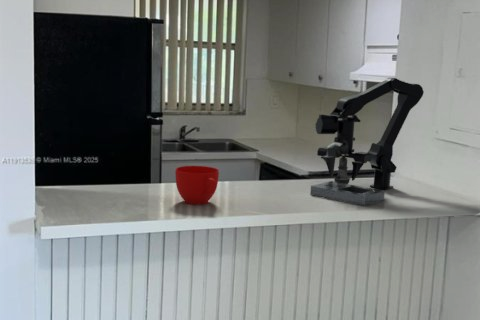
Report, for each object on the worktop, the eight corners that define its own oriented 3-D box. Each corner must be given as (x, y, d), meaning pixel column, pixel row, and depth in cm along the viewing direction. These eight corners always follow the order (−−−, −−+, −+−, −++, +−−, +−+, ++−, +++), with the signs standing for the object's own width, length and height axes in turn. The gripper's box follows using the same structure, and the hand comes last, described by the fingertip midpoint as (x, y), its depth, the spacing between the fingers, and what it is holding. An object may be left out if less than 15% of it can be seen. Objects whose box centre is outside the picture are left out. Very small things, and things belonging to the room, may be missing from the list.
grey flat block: (330, 189, 208) (331, 180, 207) (383, 199, 195) (384, 190, 195) (310, 194, 198) (310, 185, 197) (364, 205, 185) (365, 196, 185)
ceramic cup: (193, 212, 168) (194, 177, 166) (167, 199, 182) (168, 166, 180) (232, 208, 175) (234, 174, 173) (204, 196, 189) (205, 164, 187)
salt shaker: (350, 187, 213) (353, 154, 211) (348, 190, 208) (350, 156, 206) (334, 185, 215) (336, 152, 213) (331, 188, 209) (333, 154, 208)
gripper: (310, 133, 208) (307, 177, 210) (357, 139, 196) (354, 185, 199) (326, 131, 216) (323, 173, 219) (373, 136, 205) (370, 181, 207)
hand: (342, 178), depth 211 cm, fingers closed on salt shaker, 8 cm apart
